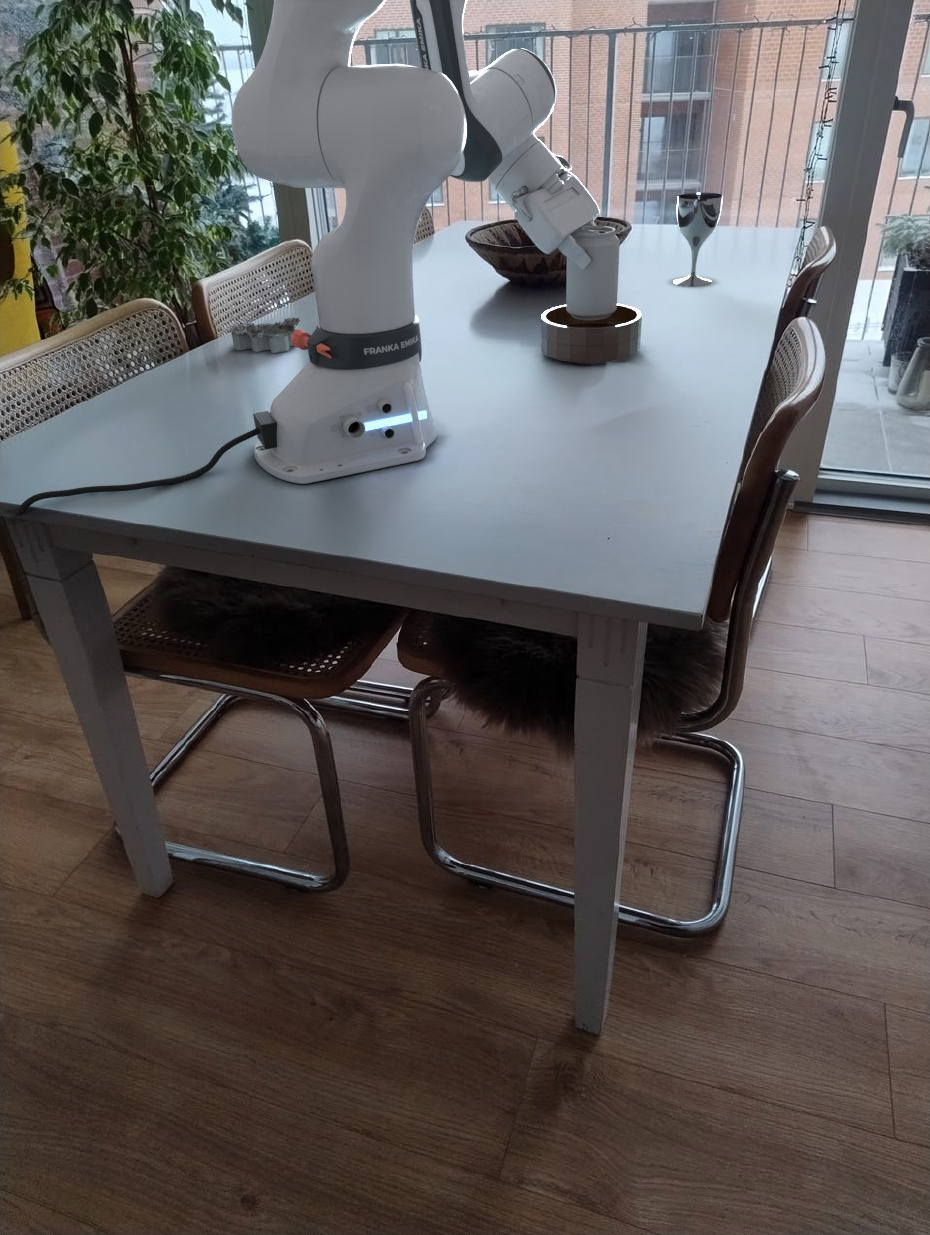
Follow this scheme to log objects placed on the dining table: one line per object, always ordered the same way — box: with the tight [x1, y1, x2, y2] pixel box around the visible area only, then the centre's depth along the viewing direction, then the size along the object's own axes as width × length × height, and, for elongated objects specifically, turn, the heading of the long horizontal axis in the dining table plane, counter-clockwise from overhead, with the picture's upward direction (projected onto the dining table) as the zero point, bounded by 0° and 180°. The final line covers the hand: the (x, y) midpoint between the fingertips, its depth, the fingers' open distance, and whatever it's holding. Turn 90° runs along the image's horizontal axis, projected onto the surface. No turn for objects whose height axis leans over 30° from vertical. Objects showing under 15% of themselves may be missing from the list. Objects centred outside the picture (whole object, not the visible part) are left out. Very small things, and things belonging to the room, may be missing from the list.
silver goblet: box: [673, 192, 724, 288], centre depth 162 cm, size 8×8×15 cm
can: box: [565, 225, 621, 320], centre depth 127 cm, size 8×8×12 cm
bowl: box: [540, 303, 643, 365], centre depth 131 cm, size 15×15×6 cm
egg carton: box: [227, 317, 301, 354], centre depth 143 cm, size 11×8×4 cm
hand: (597, 258), depth 125 cm, fingers closed on can, 7 cm apart
